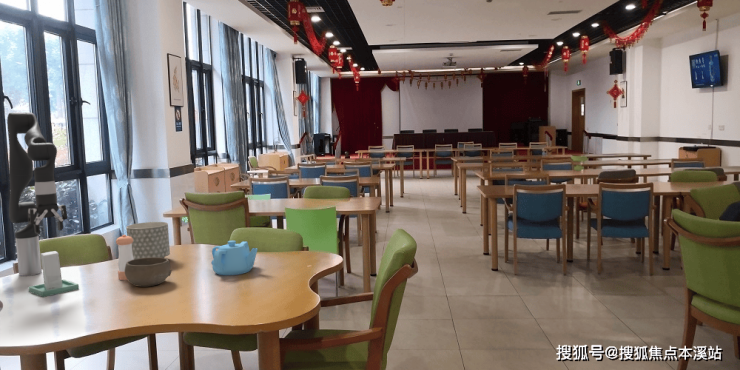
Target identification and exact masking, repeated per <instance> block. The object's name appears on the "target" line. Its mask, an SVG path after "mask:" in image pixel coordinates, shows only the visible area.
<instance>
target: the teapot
mask: <svg viewBox="0 0 740 370" xmlns="http://www.w3.org/2000/svg"><path fill="white" fill-rule="evenodd" d="M236 242H237V241H236V240H228V241H227V244H224V245H217V246H214V247H213V248H211V249H212V250H211V254H212V255H211V256H212V258H213V259H212V260H211V262H210V264H211V266H212V270H213V271H214V273H215V274H217V275H219V276H237V275H243V274H246V273H249V272H250V271H251V270H252V268H253V267H254V266H255V261H256V258H257V257H256V256H257V253H258V248H255V247H253V248H251V250H250V247H249V244H248V241H241V242H240V243H236Z"/></svg>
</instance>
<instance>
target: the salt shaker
mask: <svg viewBox="0 0 740 370" xmlns="http://www.w3.org/2000/svg"><path fill="white" fill-rule="evenodd" d="M115 243H116V245H117V247H118V249H117V250H118V260H117V266H118V270H117V274H118V275H117V279H118V280H121V281H128V279H127V278H126V276H125V266H126V263H127V262H128V261H130V260H134V258H133V254H132V244H131V243H133V238H132V237H130V236H127V234H123V235H121V236H119V237H117V238H116V240H115Z"/></svg>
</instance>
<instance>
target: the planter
mask: <svg viewBox="0 0 740 370" xmlns="http://www.w3.org/2000/svg"><path fill="white" fill-rule="evenodd" d="M125 228H126V229H125V230H126V236H130V237H132V238H133V243H131V244H132V254H133V258H134V259H139V258H147V257H161V258H166V257H167V256H169V255H171V253H170V252H171V251H170V236H169V235H170V233H169V223H168V222H165V221H149V222H147V221H146V222H139V223H131V224H129V225H127V226H126V227H125Z"/></svg>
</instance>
